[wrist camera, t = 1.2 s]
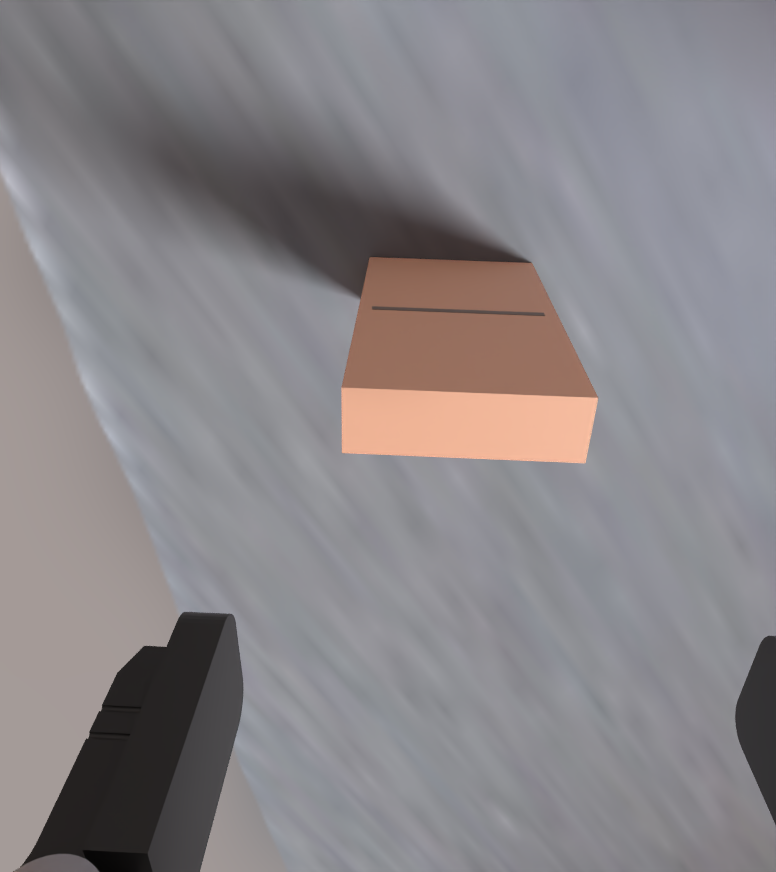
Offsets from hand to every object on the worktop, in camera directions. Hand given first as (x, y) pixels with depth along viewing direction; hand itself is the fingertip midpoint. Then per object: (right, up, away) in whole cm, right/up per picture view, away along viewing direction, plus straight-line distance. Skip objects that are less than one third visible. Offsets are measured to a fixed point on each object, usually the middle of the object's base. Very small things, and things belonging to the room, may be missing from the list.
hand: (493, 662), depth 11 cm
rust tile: (+1, +9, +16) cm, 18 cm away
